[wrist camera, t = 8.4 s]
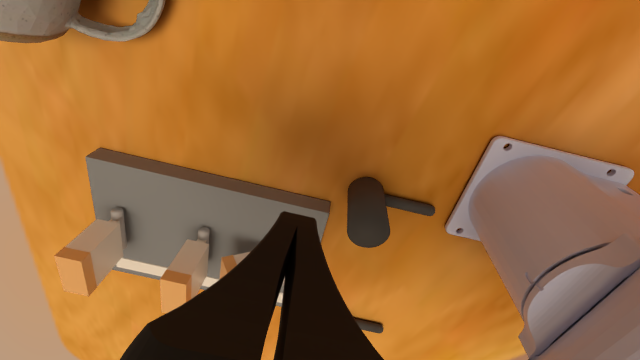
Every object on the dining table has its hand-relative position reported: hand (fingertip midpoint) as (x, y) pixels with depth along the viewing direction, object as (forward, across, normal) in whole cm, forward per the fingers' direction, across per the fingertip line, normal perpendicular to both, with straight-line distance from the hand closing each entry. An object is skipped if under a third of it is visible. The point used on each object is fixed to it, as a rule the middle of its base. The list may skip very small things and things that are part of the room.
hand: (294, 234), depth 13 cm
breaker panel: (+10, +6, +10) cm, 16 cm away
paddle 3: (+8, +13, +10) cm, 19 cm away
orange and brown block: (+8, +6, +10) cm, 15 cm away
